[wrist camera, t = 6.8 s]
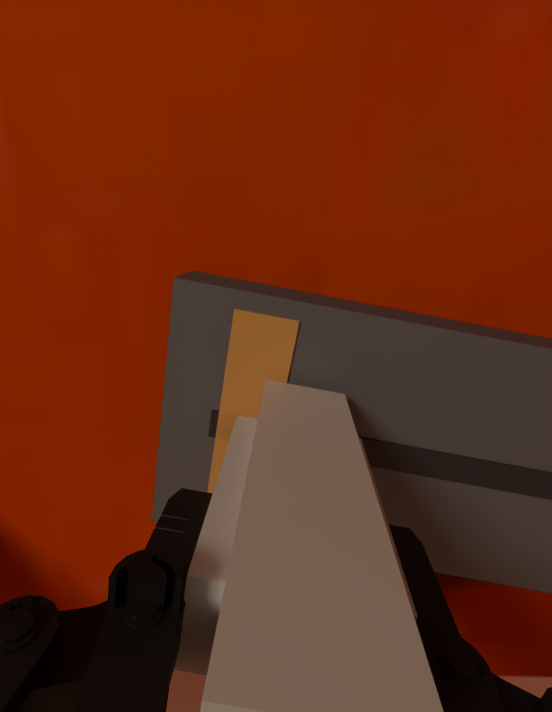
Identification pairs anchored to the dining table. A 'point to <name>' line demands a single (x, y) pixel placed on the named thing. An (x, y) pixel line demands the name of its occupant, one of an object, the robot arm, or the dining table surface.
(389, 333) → the panel
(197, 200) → the dining table surface
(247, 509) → the block
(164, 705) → the robot arm
